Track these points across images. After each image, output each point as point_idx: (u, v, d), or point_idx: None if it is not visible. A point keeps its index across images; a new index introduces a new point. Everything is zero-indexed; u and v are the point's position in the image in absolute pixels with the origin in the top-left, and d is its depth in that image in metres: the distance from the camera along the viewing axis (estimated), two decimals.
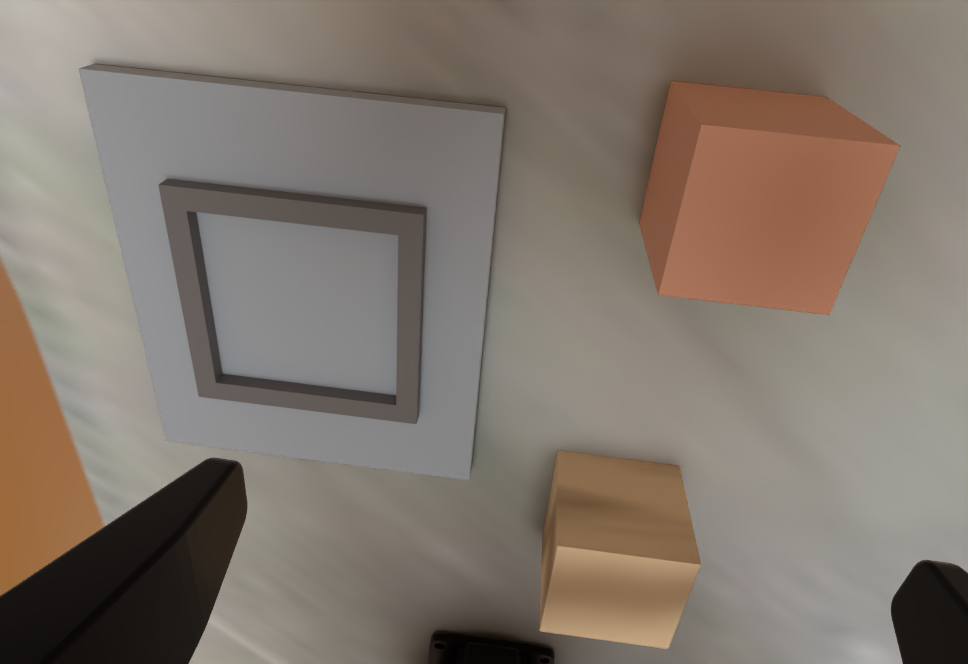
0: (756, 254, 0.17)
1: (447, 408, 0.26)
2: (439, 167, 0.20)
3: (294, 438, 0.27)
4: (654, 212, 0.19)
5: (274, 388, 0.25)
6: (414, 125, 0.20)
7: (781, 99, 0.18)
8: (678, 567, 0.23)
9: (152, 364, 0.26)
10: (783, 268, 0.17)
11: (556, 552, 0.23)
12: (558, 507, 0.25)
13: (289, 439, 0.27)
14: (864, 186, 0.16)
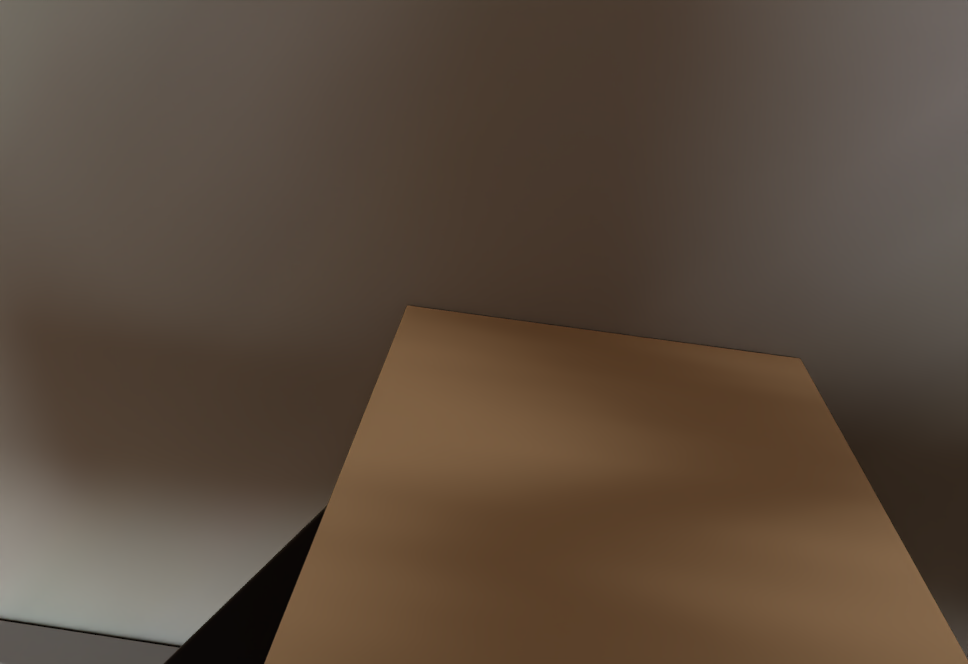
0: None
1: None
2: None
3: None
4: None
5: None
6: None
7: None
8: None
9: None
10: None
11: None
12: None
13: None
14: None
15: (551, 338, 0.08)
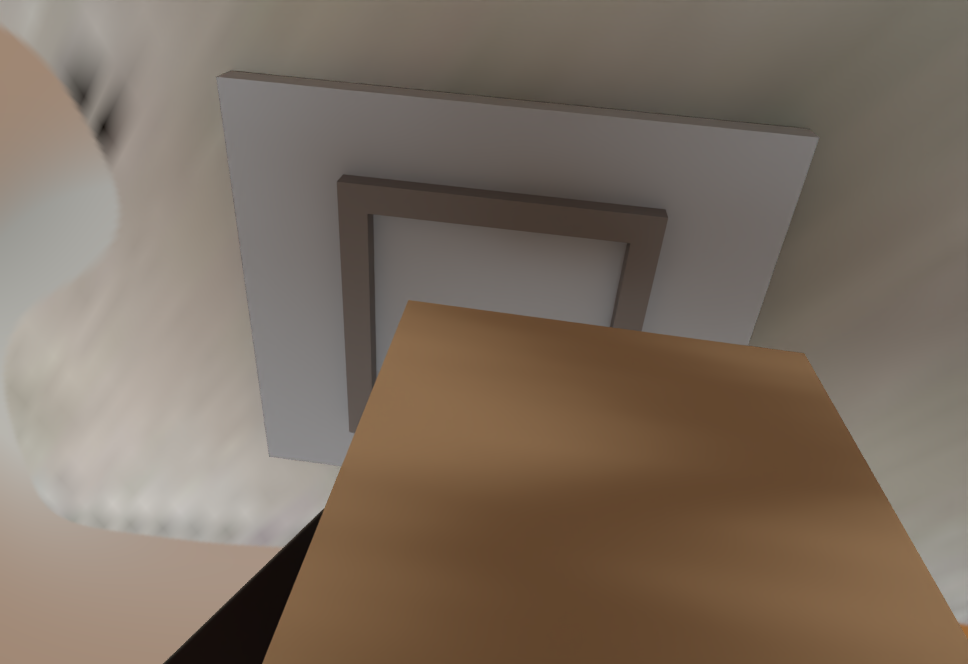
0: None
1: (656, 166, 0.17)
2: (292, 155, 0.18)
3: None
4: None
5: None
6: (252, 180, 0.18)
7: None
8: None
9: None
10: None
11: None
12: None
13: None
14: None
15: (553, 332, 0.08)
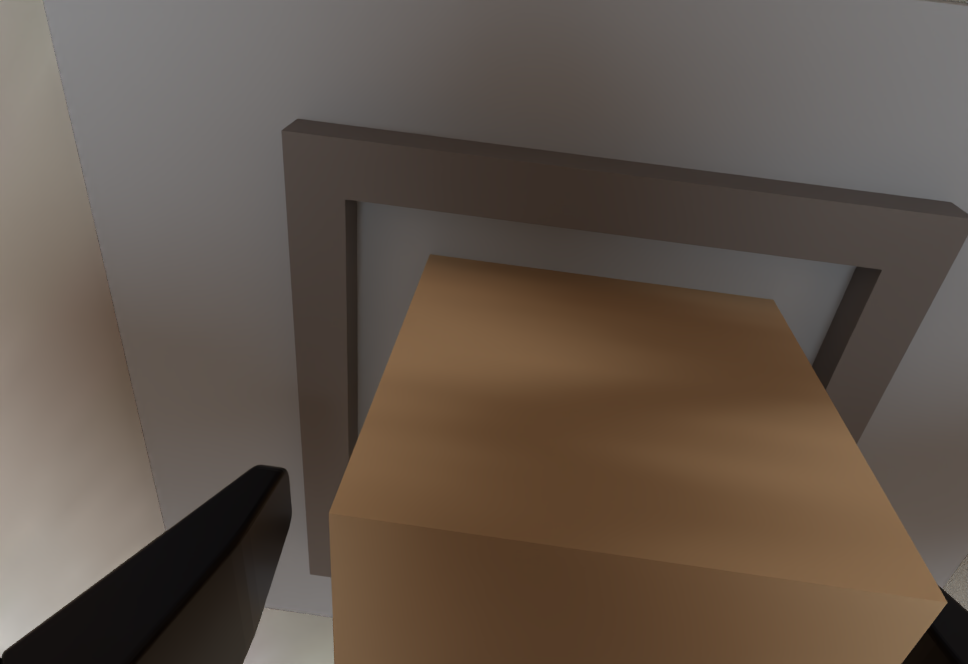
0: None
1: (955, 111, 0.08)
2: (192, 77, 0.09)
3: (932, 506, 0.11)
4: None
5: None
6: (114, 129, 0.09)
7: None
8: (364, 574, 0.06)
9: None
10: None
11: None
12: None
13: (931, 514, 0.11)
14: None
15: (556, 281, 0.09)
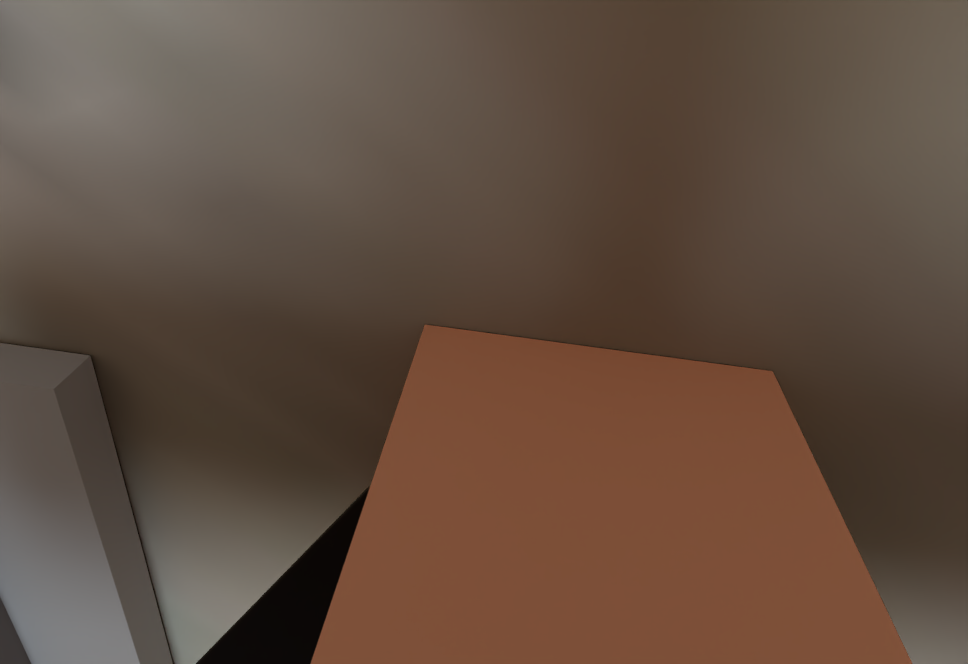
0: None
1: None
2: None
3: None
4: None
5: None
6: None
7: (659, 409, 0.07)
8: None
9: None
10: None
11: None
12: None
13: None
14: None
15: None
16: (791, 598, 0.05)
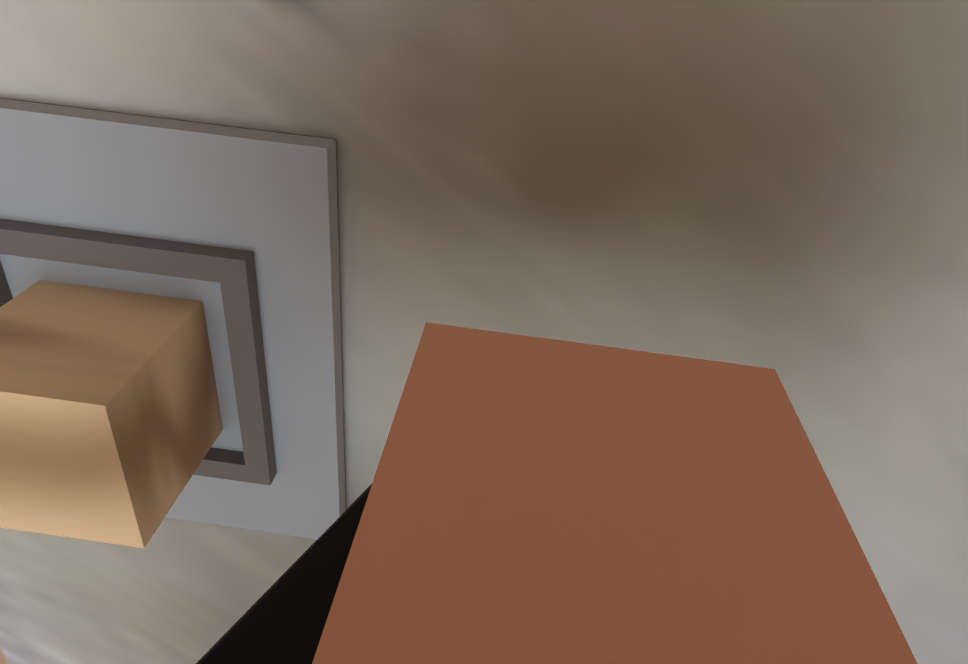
0: None
1: (306, 467, 0.23)
2: (261, 207, 0.18)
3: None
4: None
5: None
6: (227, 159, 0.17)
7: (662, 407, 0.07)
8: (78, 411, 0.16)
9: None
10: None
11: None
12: None
13: None
14: None
15: (206, 358, 0.20)
16: (795, 596, 0.05)
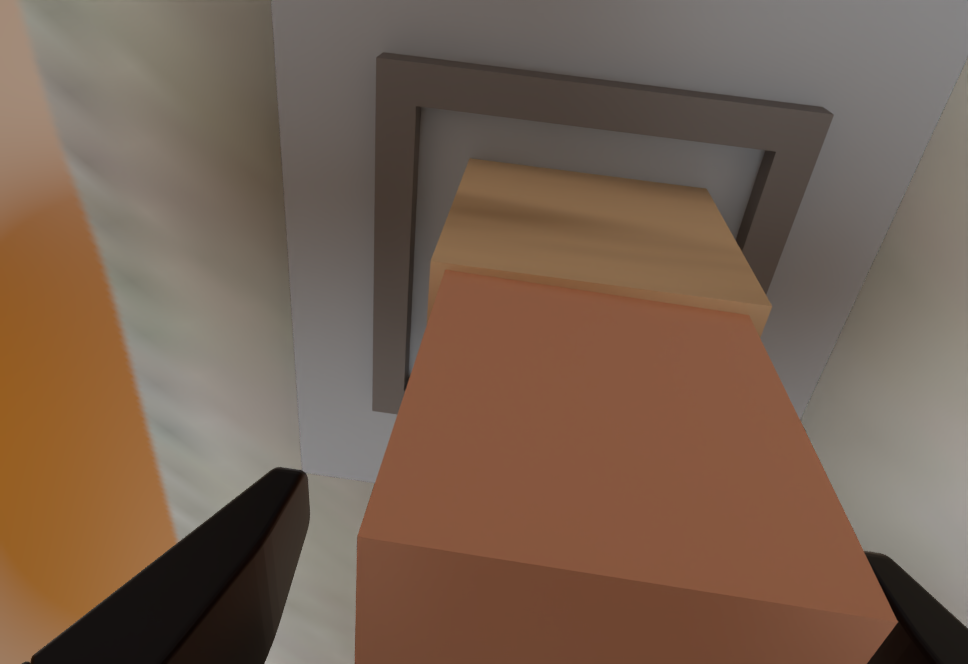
0: None
1: None
2: (871, 31, 0.12)
3: None
4: None
5: None
6: None
7: (650, 340, 0.09)
8: None
9: (301, 361, 0.17)
10: None
11: (430, 284, 0.10)
12: (449, 216, 0.11)
13: None
14: None
15: None
16: (754, 475, 0.07)
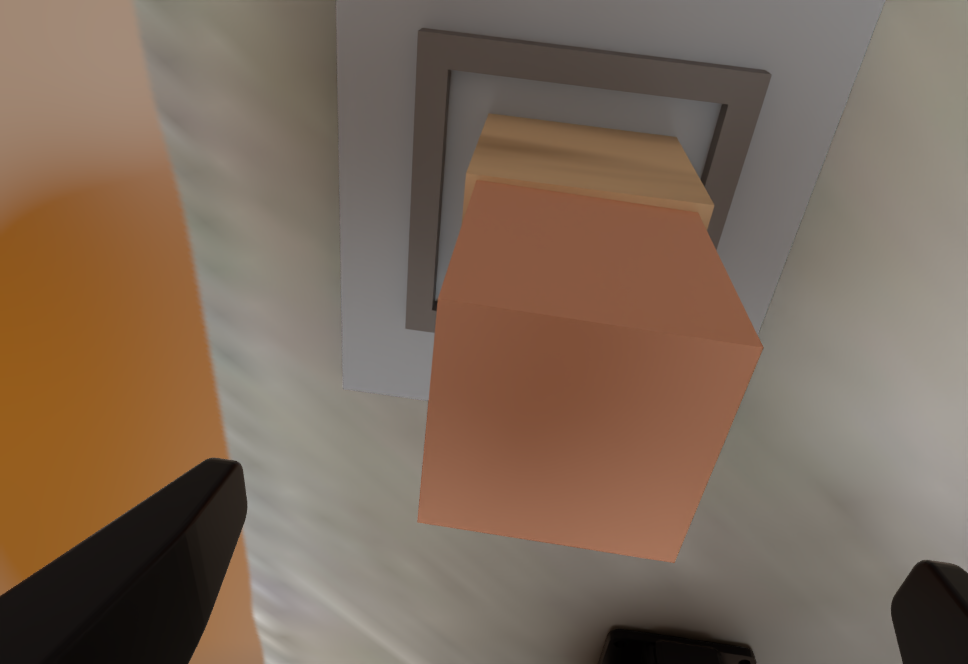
0: (553, 481, 0.11)
1: None
2: (799, 10, 0.16)
3: None
4: None
5: None
6: None
7: (624, 222, 0.12)
8: None
9: (347, 288, 0.21)
10: (598, 501, 0.11)
11: (465, 191, 0.14)
12: (477, 148, 0.15)
13: None
14: (710, 401, 0.10)
15: None
16: (687, 287, 0.10)
